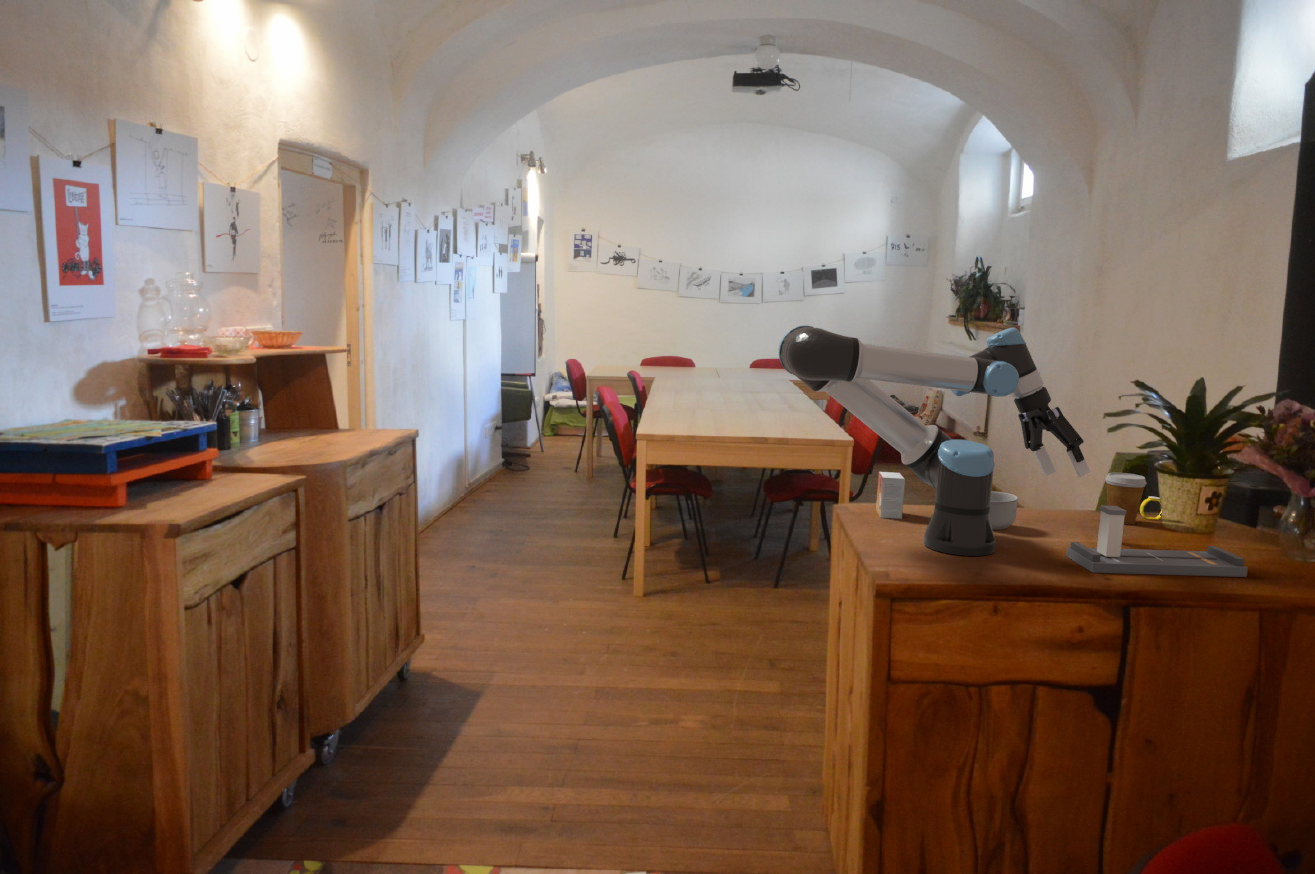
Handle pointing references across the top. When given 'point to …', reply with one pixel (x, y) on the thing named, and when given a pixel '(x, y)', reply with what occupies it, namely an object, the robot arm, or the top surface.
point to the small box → (890, 495)
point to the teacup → (1002, 510)
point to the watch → (1145, 504)
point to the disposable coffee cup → (1125, 493)
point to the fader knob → (1110, 530)
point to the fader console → (1160, 561)
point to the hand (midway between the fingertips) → (1067, 474)
